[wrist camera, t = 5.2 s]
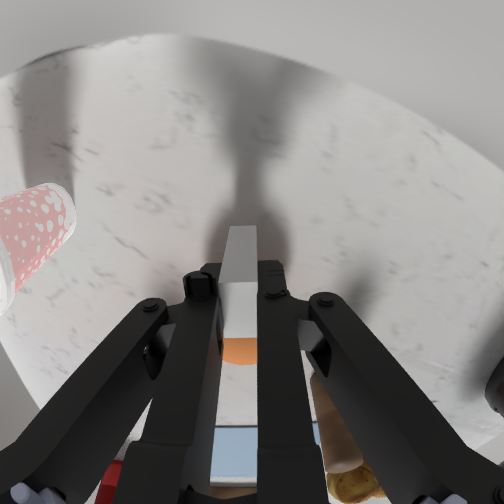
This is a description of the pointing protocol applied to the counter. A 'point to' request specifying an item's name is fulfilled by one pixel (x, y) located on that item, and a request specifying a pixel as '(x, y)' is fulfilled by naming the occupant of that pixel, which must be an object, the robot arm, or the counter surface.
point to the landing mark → (239, 451)
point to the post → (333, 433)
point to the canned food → (109, 483)
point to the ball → (240, 350)
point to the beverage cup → (31, 233)
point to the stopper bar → (231, 492)
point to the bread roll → (354, 485)
